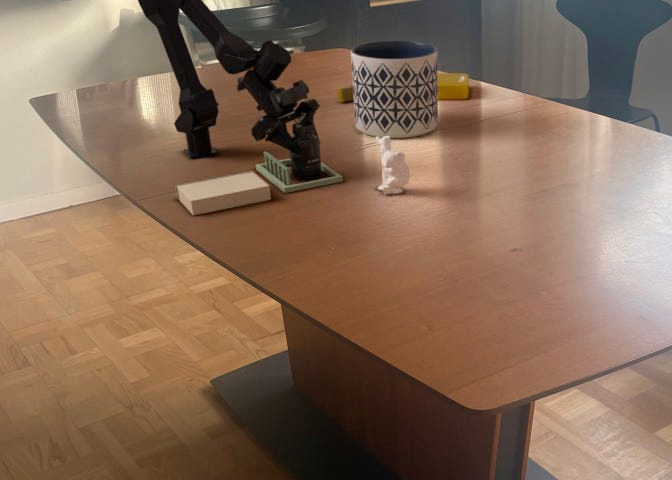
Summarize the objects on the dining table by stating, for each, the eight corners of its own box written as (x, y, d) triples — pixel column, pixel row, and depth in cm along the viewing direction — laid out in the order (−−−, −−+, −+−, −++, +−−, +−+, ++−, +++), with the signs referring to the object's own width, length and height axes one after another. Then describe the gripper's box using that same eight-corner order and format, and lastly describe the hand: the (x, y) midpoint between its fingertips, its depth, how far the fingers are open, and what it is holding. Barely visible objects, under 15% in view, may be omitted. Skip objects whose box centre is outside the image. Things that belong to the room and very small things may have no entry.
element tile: (468, 99, 248) (468, 83, 246) (418, 99, 248) (418, 83, 246) (468, 87, 261) (468, 71, 259) (420, 87, 261) (420, 71, 259)
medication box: (368, 95, 253) (367, 81, 252) (374, 95, 252) (373, 82, 250) (337, 101, 246) (336, 87, 244) (343, 102, 244) (341, 88, 242)
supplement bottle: (316, 182, 189) (311, 130, 183) (287, 180, 190) (282, 128, 184) (326, 172, 195) (322, 121, 188) (298, 170, 196) (293, 119, 189)
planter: (340, 133, 220) (334, 54, 209) (377, 111, 238) (374, 37, 227) (417, 143, 213) (416, 62, 202) (450, 120, 230) (450, 44, 220)
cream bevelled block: (177, 199, 180) (174, 185, 178) (254, 184, 188) (252, 170, 186) (192, 215, 172) (189, 201, 170) (271, 199, 180) (270, 185, 178)
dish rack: (255, 169, 196) (253, 150, 194) (310, 159, 202) (309, 140, 200) (284, 193, 183) (282, 173, 181) (342, 181, 189) (341, 161, 187)
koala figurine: (368, 189, 185) (365, 136, 179) (393, 183, 188) (391, 130, 182) (390, 200, 179) (388, 146, 173) (415, 193, 183) (414, 140, 176)
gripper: (255, 79, 175) (301, 139, 176) (309, 62, 189) (352, 117, 190) (231, 112, 182) (276, 169, 183) (285, 92, 196) (327, 145, 197)
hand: (309, 149), depth 188 cm, fingers closed on supplement bottle, 7 cm apart
